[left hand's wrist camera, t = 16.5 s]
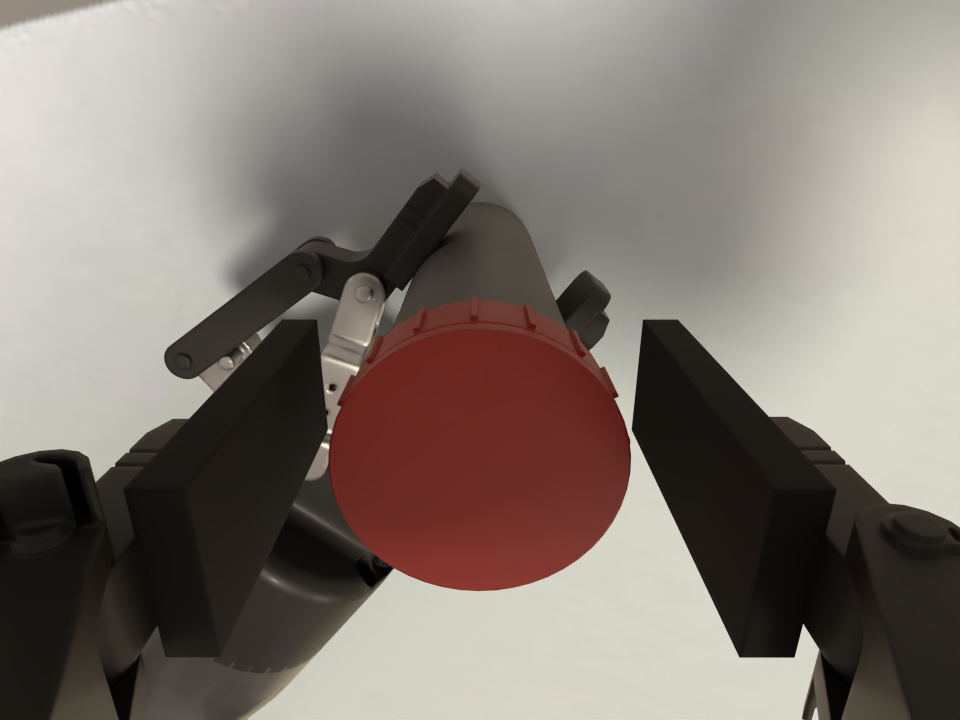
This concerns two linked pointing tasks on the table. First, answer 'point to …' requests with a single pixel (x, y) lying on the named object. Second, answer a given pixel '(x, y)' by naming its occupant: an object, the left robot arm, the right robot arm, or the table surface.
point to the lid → (479, 447)
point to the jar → (482, 266)
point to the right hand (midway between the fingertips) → (534, 233)
